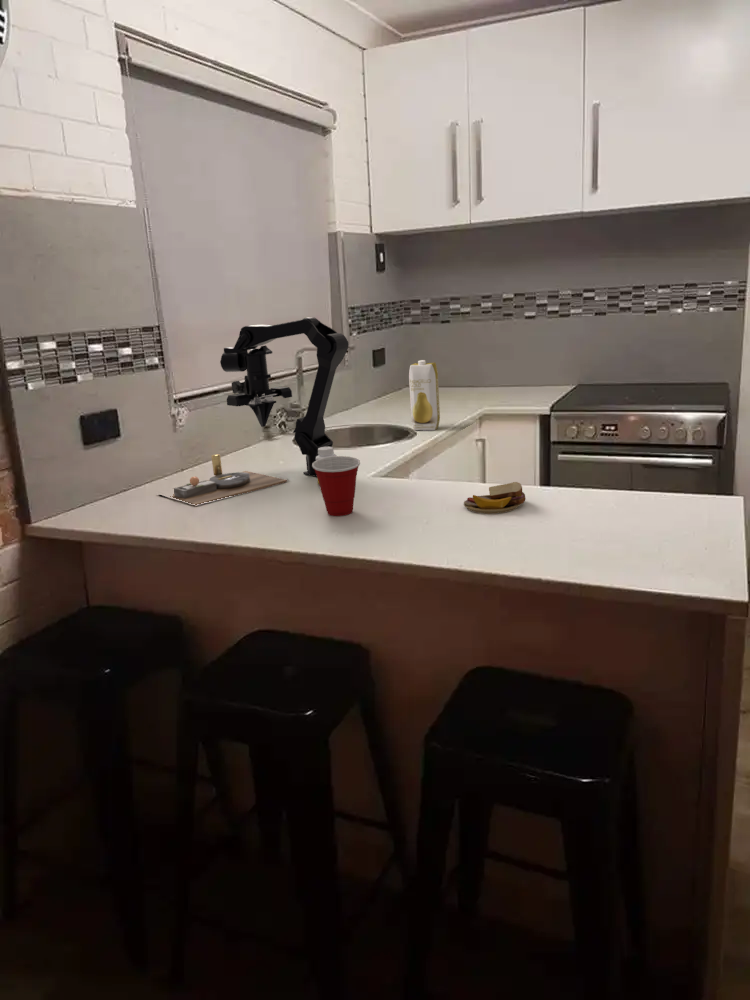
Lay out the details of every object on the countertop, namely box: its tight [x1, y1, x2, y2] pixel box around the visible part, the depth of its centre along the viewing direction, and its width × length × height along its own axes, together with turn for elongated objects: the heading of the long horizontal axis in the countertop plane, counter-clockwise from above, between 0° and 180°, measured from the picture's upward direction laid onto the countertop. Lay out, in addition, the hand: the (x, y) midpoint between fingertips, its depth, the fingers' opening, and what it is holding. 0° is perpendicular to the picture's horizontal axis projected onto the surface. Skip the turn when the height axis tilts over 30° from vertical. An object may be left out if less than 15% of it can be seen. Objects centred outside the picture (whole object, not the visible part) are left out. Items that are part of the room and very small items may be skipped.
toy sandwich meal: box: [463, 481, 526, 515], centre depth 167 cm, size 12×14×5 cm
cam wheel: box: [208, 453, 250, 489], centre depth 203 cm, size 12×12×7 cm
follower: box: [182, 476, 215, 490], centre depth 196 cm, size 3×8×4 cm, turn 133°
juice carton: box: [408, 359, 441, 431], centre depth 262 cm, size 9×8×24 cm
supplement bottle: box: [316, 446, 337, 488], centre depth 194 cm, size 6×6×10 cm
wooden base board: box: [170, 470, 288, 505], centre depth 201 cm, size 20×28×3 cm
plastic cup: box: [312, 455, 361, 517], centre depth 169 cm, size 11×11×12 cm
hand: (263, 426), depth 214 cm, fingers closed
